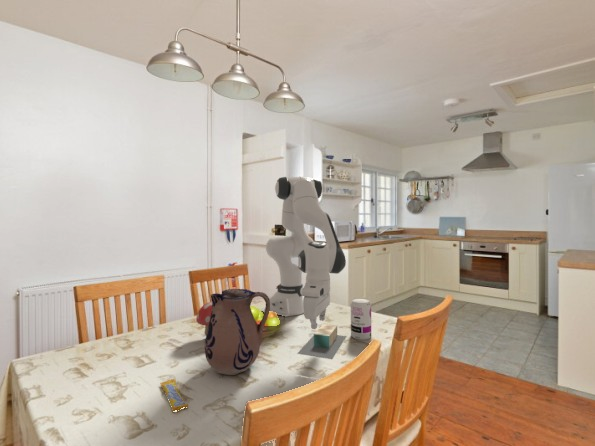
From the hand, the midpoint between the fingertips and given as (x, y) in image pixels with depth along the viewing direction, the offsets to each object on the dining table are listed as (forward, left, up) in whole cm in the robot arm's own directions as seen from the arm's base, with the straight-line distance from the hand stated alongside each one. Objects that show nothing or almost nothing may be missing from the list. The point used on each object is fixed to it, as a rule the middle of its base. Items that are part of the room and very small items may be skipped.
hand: (318, 324), depth 117 cm
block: (0, +3, -8) cm, 8 cm away
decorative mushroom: (-44, -3, -10) cm, 45 cm away
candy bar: (-29, -42, -11) cm, 52 cm away
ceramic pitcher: (-21, -21, -10) cm, 31 cm away
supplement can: (+12, +19, -10) cm, 25 cm away
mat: (0, +6, -10) cm, 12 cm away
